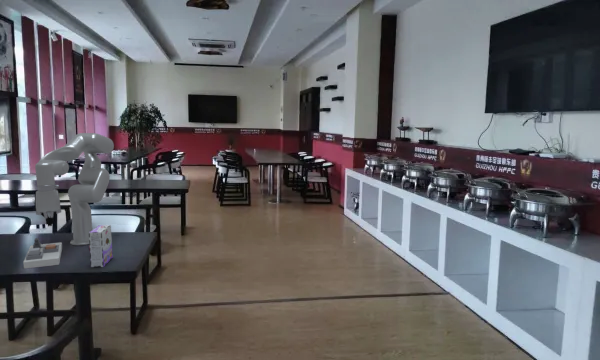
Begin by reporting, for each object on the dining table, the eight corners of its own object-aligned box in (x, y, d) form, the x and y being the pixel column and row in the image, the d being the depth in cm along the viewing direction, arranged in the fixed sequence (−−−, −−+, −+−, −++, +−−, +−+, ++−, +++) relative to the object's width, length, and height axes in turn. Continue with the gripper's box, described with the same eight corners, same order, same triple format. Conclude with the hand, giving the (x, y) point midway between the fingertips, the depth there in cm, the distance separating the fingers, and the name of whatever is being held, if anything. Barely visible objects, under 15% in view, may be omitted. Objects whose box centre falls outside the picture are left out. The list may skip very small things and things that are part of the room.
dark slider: (41, 245, 230) (40, 237, 229) (40, 247, 225) (39, 239, 225) (34, 246, 229) (33, 238, 228) (33, 248, 224) (32, 240, 224)
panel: (62, 248, 237) (61, 239, 237) (59, 264, 210) (58, 254, 210) (31, 251, 231) (30, 242, 231) (23, 268, 205) (23, 258, 204)
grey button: (40, 252, 214) (39, 247, 213) (39, 254, 210) (38, 249, 210) (30, 253, 212) (29, 248, 212) (29, 256, 208) (28, 250, 208)
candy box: (100, 258, 220) (98, 224, 218) (113, 257, 220) (111, 224, 218) (90, 267, 206) (87, 231, 204) (103, 267, 207) (101, 231, 205)
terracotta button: (55, 248, 224) (55, 243, 224) (55, 250, 221) (55, 246, 220) (46, 249, 223) (46, 244, 222) (45, 251, 219) (45, 247, 219)
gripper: (64, 185, 224) (67, 222, 227) (29, 188, 218) (33, 225, 221) (63, 188, 218) (67, 225, 221) (27, 190, 211) (31, 229, 214)
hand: (50, 225), depth 221 cm, fingers closed
